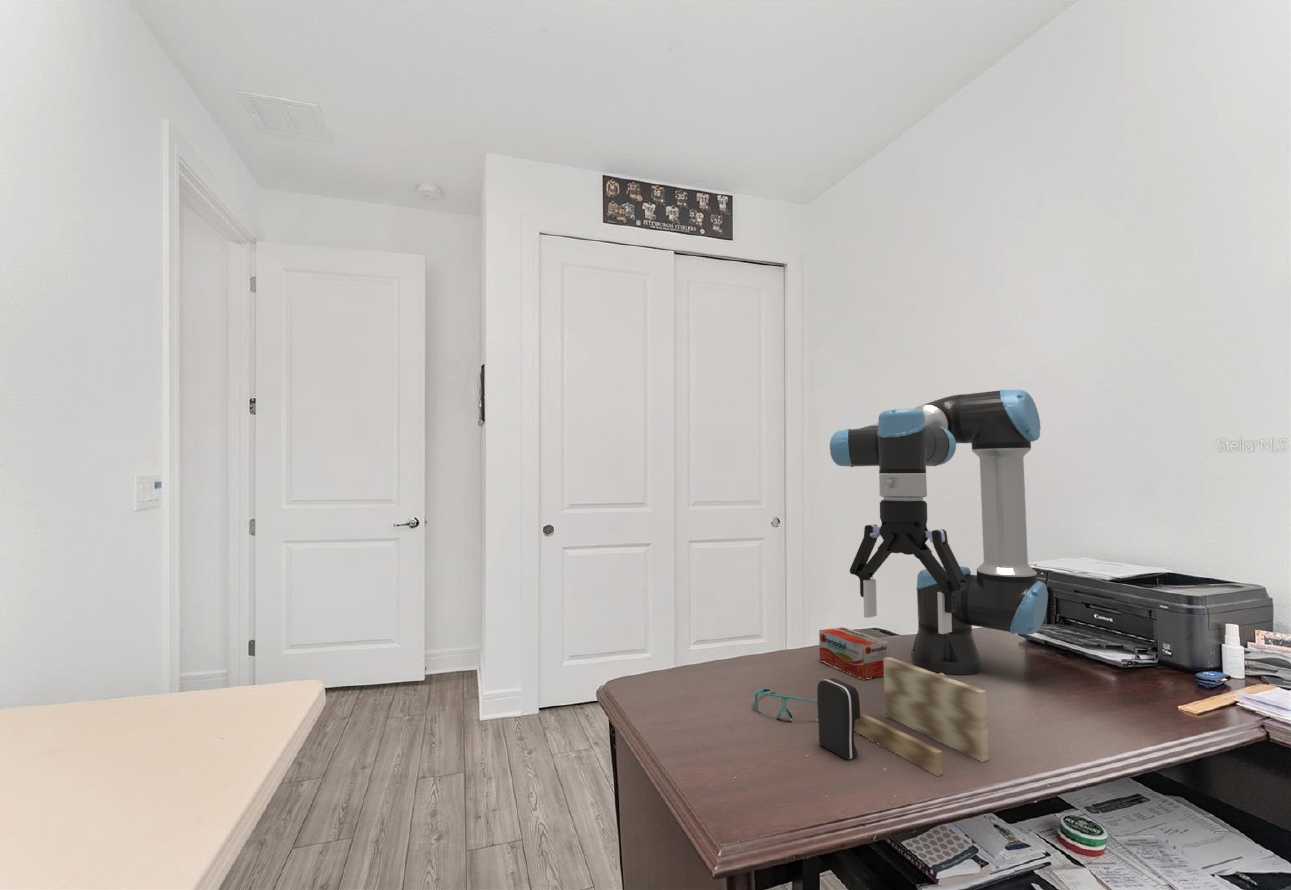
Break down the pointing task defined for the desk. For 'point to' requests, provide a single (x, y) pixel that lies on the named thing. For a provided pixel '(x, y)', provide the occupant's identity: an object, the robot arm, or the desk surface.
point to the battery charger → (837, 716)
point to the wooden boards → (929, 716)
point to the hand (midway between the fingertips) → (905, 624)
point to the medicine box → (853, 652)
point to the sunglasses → (782, 701)
